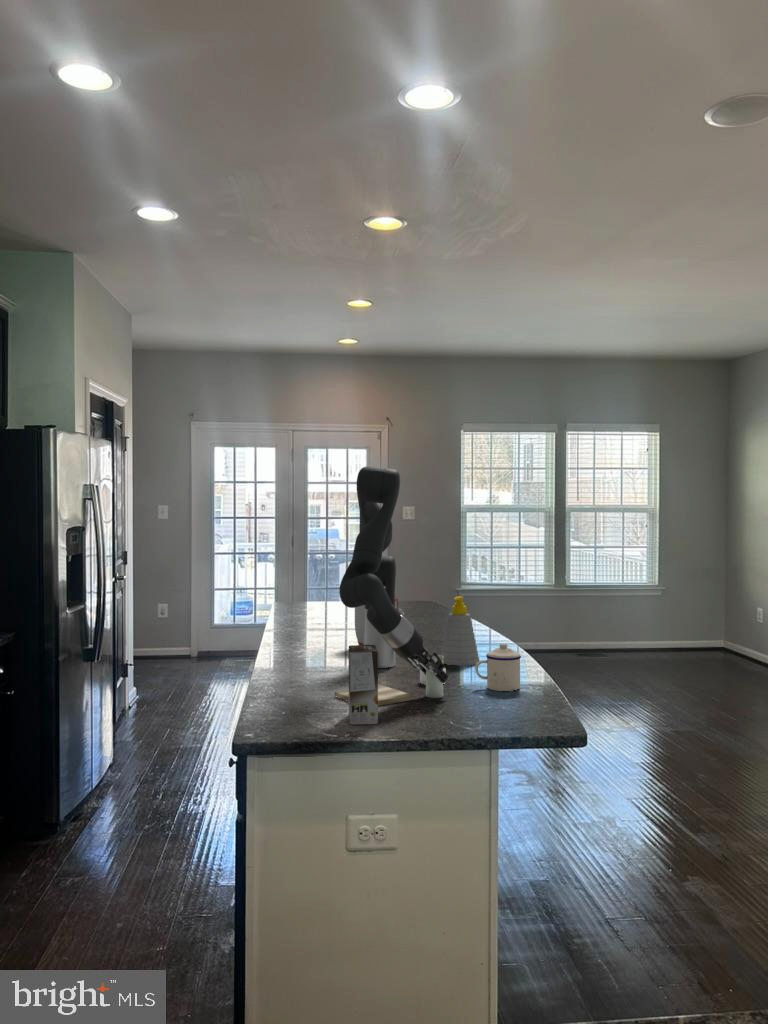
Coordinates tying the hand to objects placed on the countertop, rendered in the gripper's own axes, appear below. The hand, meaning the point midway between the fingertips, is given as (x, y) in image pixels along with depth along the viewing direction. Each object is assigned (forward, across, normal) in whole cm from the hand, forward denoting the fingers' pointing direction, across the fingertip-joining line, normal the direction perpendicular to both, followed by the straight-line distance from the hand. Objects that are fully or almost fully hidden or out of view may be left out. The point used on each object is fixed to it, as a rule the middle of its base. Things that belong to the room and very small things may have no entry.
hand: (438, 678), depth 196 cm
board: (-8, +7, +14) cm, 17 cm away
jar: (+2, 0, +4) cm, 4 cm away
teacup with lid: (+16, -3, -9) cm, 18 cm away
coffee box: (-17, -8, +23) cm, 30 cm away
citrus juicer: (+22, +65, -16) cm, 70 cm away
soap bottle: (+26, +30, -20) cm, 45 cm away
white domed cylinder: (+9, +12, -2) cm, 15 cm away
